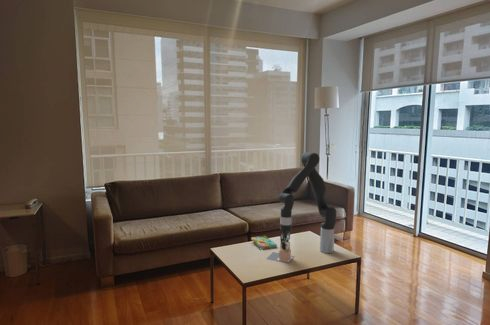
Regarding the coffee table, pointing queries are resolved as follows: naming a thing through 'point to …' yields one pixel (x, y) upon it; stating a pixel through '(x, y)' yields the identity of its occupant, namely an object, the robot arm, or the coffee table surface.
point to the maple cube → (286, 247)
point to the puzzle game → (263, 242)
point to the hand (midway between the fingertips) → (285, 247)
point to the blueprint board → (275, 257)
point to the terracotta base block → (285, 255)
